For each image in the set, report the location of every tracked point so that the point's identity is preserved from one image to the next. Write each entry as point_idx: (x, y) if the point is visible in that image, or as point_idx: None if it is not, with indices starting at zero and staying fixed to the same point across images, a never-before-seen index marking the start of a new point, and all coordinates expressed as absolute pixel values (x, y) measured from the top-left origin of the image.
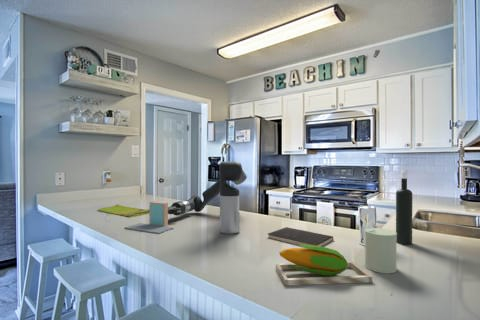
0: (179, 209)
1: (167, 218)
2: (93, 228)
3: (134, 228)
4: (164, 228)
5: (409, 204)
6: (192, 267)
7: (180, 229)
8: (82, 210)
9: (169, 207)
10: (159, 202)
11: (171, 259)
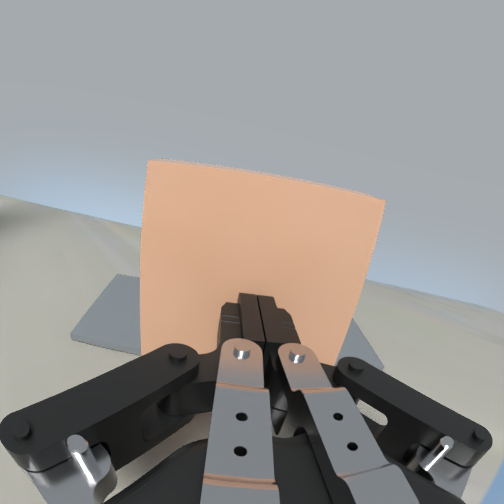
0: (20, 416)
1: (142, 332)
2: (412, 290)
3: None
4: (122, 317)
5: None
6: (12, 202)
7: (25, 330)
8: None
9: (321, 437)
10: (258, 173)
11: (41, 208)
